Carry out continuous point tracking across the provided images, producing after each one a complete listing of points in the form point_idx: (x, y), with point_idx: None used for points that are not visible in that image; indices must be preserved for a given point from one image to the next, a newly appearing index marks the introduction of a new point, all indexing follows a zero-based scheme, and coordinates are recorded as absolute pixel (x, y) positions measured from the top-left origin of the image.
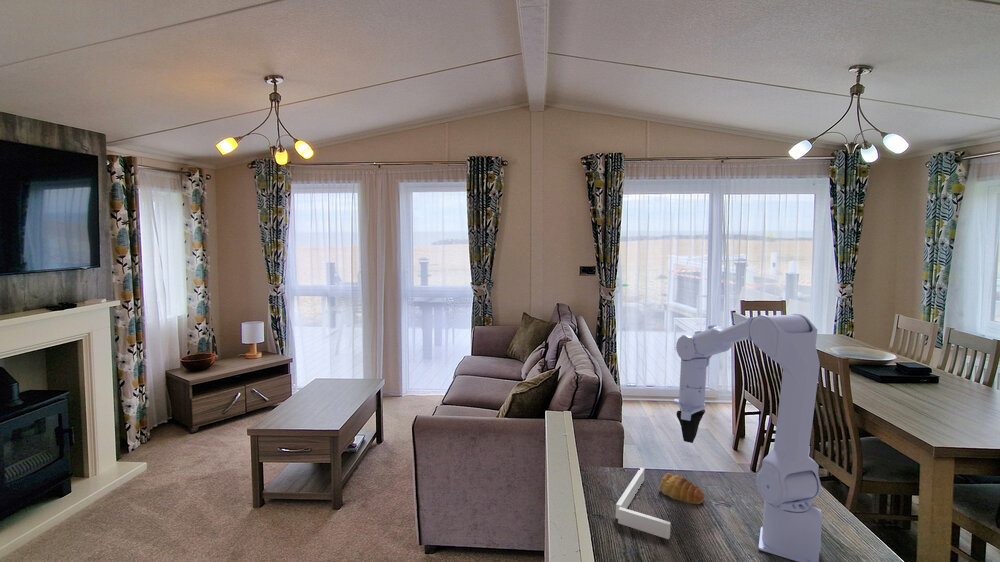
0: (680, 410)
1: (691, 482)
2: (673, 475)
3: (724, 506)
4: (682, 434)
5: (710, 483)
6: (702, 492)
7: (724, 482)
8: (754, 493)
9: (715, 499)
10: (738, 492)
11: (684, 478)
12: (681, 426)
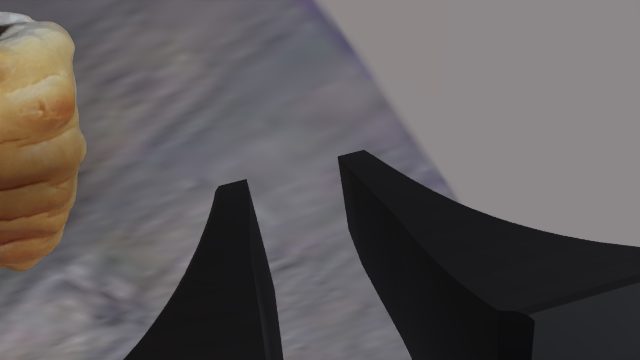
0: (486, 305)
1: (43, 202)
2: (6, 86)
3: (83, 313)
4: (211, 217)
5: (270, 185)
6: (24, 264)
7: (333, 223)
8: (317, 334)
9: (114, 265)
10: (276, 296)
11: (11, 175)
12: (171, 300)
